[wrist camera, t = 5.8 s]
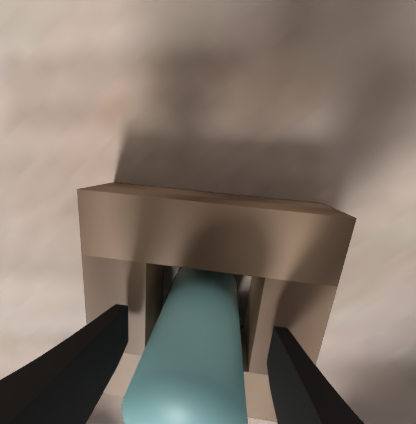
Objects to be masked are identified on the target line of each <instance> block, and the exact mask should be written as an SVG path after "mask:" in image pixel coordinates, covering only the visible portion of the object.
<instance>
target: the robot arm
mask: <svg viewBox="0 0 416 424" xmlns="http://www.w3.org/2000/svg"><path fill="white" fill-rule="evenodd" d="M128 341H129V336H128V306H127V305H120V304H115V305H114V306H112V307H111V308H109V309H108V310H107V311H105V312H104V313H102V314H101V315H100V316H98V317H97V318H96V319H94V320H93V321H92V322H90V323H89V324H87V325H86V326H85V327H83V328H82V329H80V330H79V331H78V332H76V333H75V334H73V335H72V336H70V337H69V338H67V339H66V340H64V341H63V342H61V343H60V344H58V345H57V346H55V347H54V348H52V349H51V350H49V351H48V352H46V353H45V354H43V355H42V356H40V357H39V358H37V359H35V360H34V361H32V362H30V363H29V364H27V365H25V366H24V367H22V368H20V369H19V370H17V371H15V372H13V373H12V374H10V375H8V376H7V377H5V378H3V379H1V380H0V424H86V422H87V420H88V419H89V417H90V415H91V413H92V411H93V410H94V408H95V406H96V404H97V403H98V401H99V399H100V397H101V395H102V394H103V392H104V390H105V388H106V386H107V385H108V383H109V381H110V379H111V377H112V376H113V374H114V372H115V370H116V368H117V366H118V364H119V362H120V360H121V358H122V355H123V353H124V351H125V348H126V346H127V343H128ZM267 370H268V378H269V385H270V391H271V396H272V401H273V405H274V409H275V414H276V418H277V423H278V424H364V423H363V422H362V421H361V420H360V419H359V417H358V416H357V415H356V414H355V413H354V412H353V411H352V410H351V408H350V407H349V406H348V405H347V404H346V403H345V401H344V400H343V399H342V398H341V397H340V395H339V394H338V393H337V392H336V391H335V389H334V388H333V387H332V386H331V384H330V383H329V382H328V381H327V379H326V378H325V377H324V376H323V374H322V373H321V372H320V371H319V369H318V368H317V367H316V365H315V364H314V363H313V361H312V360H311V359H310V358H309V356H308V355H307V353H306V352H305V351H304V349H303V348H302V347H301V345H300V344H299V343H298V341H297V340H296V339H295V337H294V336H293V334H292V333H291V332H290V330H289V329H288V328H286V327H278V326H274V327H273V332H272V337H271V342H270V347H269V352H268V357H267Z"/></svg>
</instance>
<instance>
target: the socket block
mask: <svg viewBox="0 0 416 424" xmlns="http://www.w3.org/2000/svg"><path fill="white" fill-rule="evenodd" d="M77 195H78V209H79V223H80V237H81V252H82V266H83V280H84V294H85V308H86V322H87V324H89V323H90V322H92V321H93V320H94V319H96V318H97V317H98V316H100V315H101V314H102V313H104V312H105V311H107V310H108V309H109V308H111V307H112V306H114V305H115V304H120V305H127V306H128V336H129V341H128V343H127V346H126V348H125V351H124V353H123V355H122V358H121V360H120V362H119V364H118V366H117V368H116V370H115V372H114V374H113V376H112V377H111V379H110V381H109V383H108V385H107V386H106V388H105V390H104V392H103V393H106V394H112V395H118V396H124V395H125V393H126V391H127V388H128V386H129V384H130V382H131V379H132V377H133V375H134V372H135V370H136V368H137V365H138V363H139V361H140V359H141V356H142V354H143V352H144V349H145V347H146V345H147V342H148V340H149V338H150V336H151V333H152V331H153V329H154V326H155V324H156V322H157V319H158V317H159V315H160V313H161V310H162V294H163V267H164V265H167V266H175V267H183V268H191V269H199V270H207V271H215V272H223V273H231V274H239V275H248V276H252V278H251V285H250V291H249V297H248V304H247V310H246V316H245V323H244V327H240V335H241V347H242V359H243V371H244V383H245V395H246V407H247V417H249V418H255V419H261V420H267V421H273V422H277V418H276V414H275V409H274V405H273V401H272V396H271V391H270V385H269V378H268V370H267V357H268V352H269V347H270V342H271V337H272V332H273V327H274V326H278V327H286V328H288V329H289V330H290V332H291V333H292V334H293V336H294V337H295V339H296V340H297V341H298V343H299V344H300V345H301V347H302V348H303V349H304V351H305V352H306V353H307V355H308V356H309V358H310V359H311V360H312V361H313V363H314V364H315V365H316V362H317V358H318V355H319V351H320V348H321V344H322V340H323V337H324V333H325V330H326V326H327V322H328V319H329V315H330V312H331V308H332V304H333V301H334V297H335V294H336V290H337V287H338V283H339V279H340V276H341V272H342V269H343V265H344V261H345V258H346V254H347V251H348V247H349V243H350V240H351V236H352V233H353V229H354V225H355V222H356V218H355V217H352V216H350V215H348V214H346V213H343V212H341V211H339V210H336V209H334V208H332V207H329V206H327V205H325V204H321V203H311V202H301V201H291V200H281V199H271V198H261V197H251V196H242V195H232V194H222V193H212V192H202V191H192V190H182V189H172V188H162V187H152V186H142V185H132V184H122V183H108V184H103V185H97V186H92V187H86V188H81V189H77Z"/></svg>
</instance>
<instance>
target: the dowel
mask: <svg viewBox="0 0 416 424" xmlns="http://www.w3.org/2000/svg"><path fill="white" fill-rule="evenodd" d="M122 417H123V420H124V423H125V424H248V419H247V407H246V395H245V383H244V371H243V359H242V347H241V335H240V323H239V311H238V299H237V286H236V281H235V278H234V276H233V274H231V273H223V272H215V271H207V270H199V269H191V268H183V267H182V268H181V269H180V270H179V272H178V274H177V276H176V278H175V280H174V283H173V285H172V287H171V290H170V292H169V294H168V296H167V299H166V301H165V303H164V306H163V308H162V310H161V313H160V315H159V317H158V319H157V322H156V324H155V326H154V329H153V331H152V333H151V336H150V338H149V340H148V342H147V345H146V347H145V349H144V352H143V354H142V356H141V359H140V361H139V363H138V365H137V368H136V370H135V372H134V375H133V377H132V379H131V382H130V384H129V386H128V388H127V391H126V393H125V395H124V398H123V401H122Z"/></svg>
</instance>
